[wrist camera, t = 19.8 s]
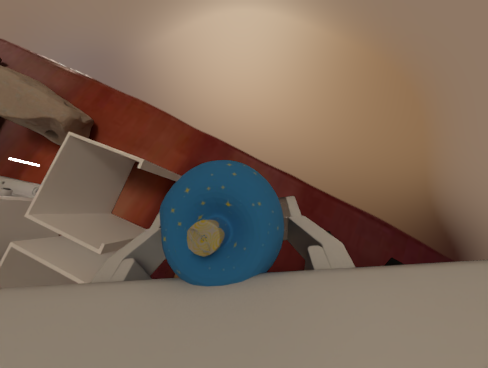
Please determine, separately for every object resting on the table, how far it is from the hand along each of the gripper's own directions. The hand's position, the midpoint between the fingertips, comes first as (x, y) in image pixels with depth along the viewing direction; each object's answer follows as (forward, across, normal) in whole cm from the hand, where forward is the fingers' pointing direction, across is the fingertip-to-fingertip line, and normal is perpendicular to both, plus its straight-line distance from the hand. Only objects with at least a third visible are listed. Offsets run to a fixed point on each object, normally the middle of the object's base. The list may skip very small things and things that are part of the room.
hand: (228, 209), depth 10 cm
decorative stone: (+28, +36, -2) cm, 45 cm away
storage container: (+11, +21, +14) cm, 28 cm away
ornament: (+6, 0, +6) cm, 9 cm away
